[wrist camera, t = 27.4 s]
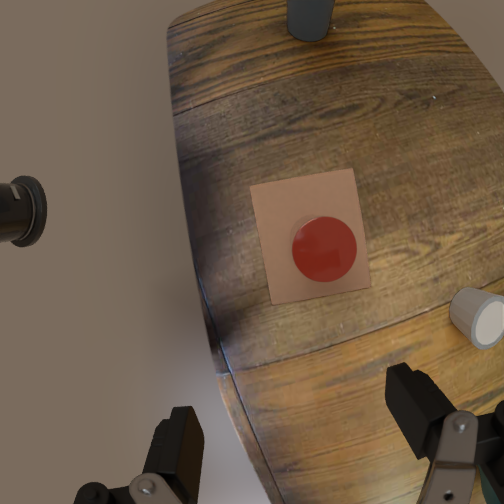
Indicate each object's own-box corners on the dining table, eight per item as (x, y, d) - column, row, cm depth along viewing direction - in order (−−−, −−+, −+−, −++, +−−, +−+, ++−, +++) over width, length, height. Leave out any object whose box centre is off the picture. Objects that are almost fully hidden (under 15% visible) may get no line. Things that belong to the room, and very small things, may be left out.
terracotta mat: (272, 304, 36) (272, 305, 36) (249, 186, 35) (249, 186, 34) (370, 286, 35) (371, 287, 34) (352, 168, 33) (352, 167, 33)
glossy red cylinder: (293, 265, 35) (297, 287, 25) (285, 218, 34) (286, 222, 24) (340, 257, 34) (361, 276, 24) (332, 210, 34) (351, 211, 24)
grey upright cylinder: (292, 44, 32) (293, -2, 22) (282, 14, 31) (280, -33, 21) (333, 39, 31) (345, -5, 21) (321, 10, 30) (329, -36, 20)
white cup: (457, 275, 33) (486, 288, 26) (489, 290, 33) (518, 303, 26) (437, 324, 34) (462, 344, 28) (470, 334, 34) (495, 354, 27)
